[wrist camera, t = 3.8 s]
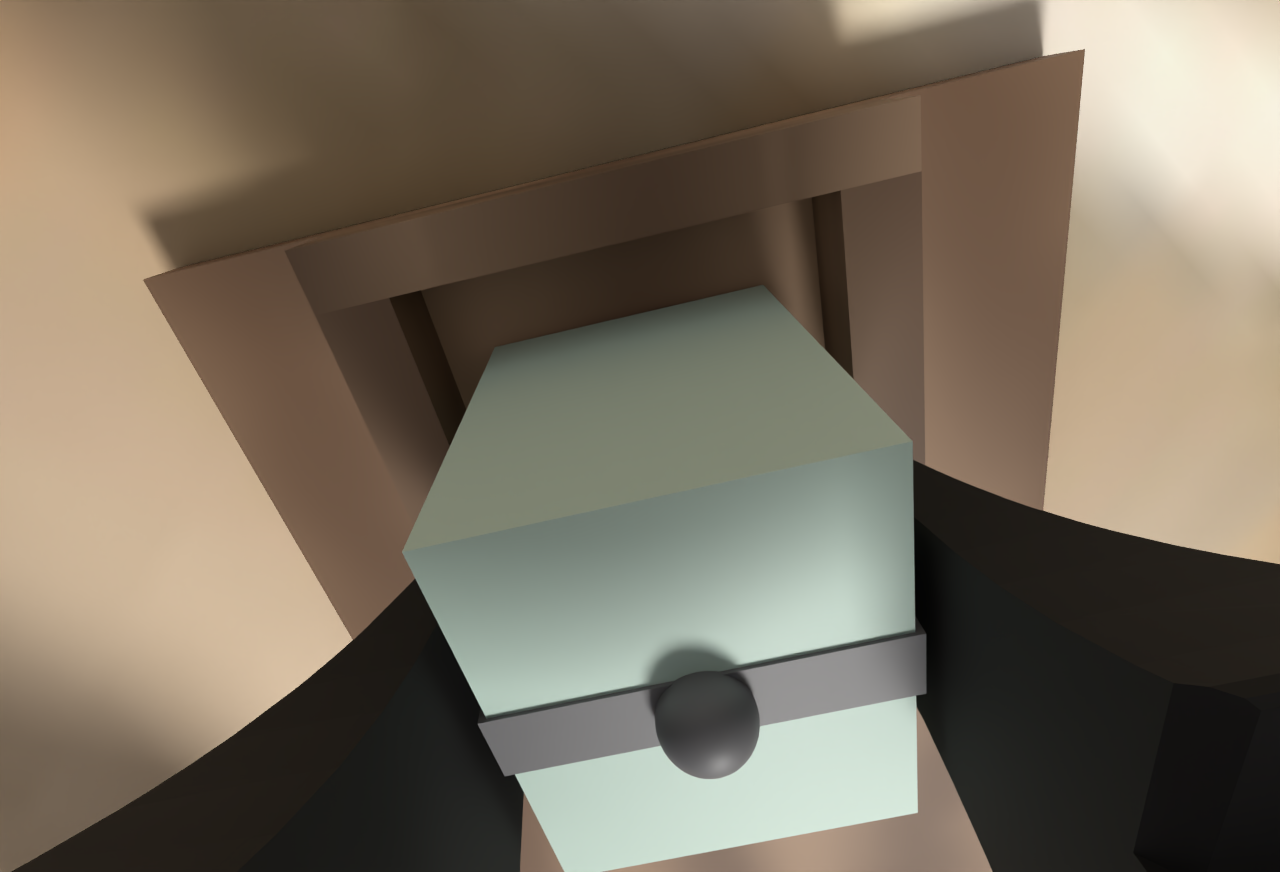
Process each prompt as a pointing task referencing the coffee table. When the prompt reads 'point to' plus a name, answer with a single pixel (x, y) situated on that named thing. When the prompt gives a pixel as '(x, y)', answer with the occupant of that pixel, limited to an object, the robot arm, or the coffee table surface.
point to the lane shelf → (657, 278)
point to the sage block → (682, 583)
